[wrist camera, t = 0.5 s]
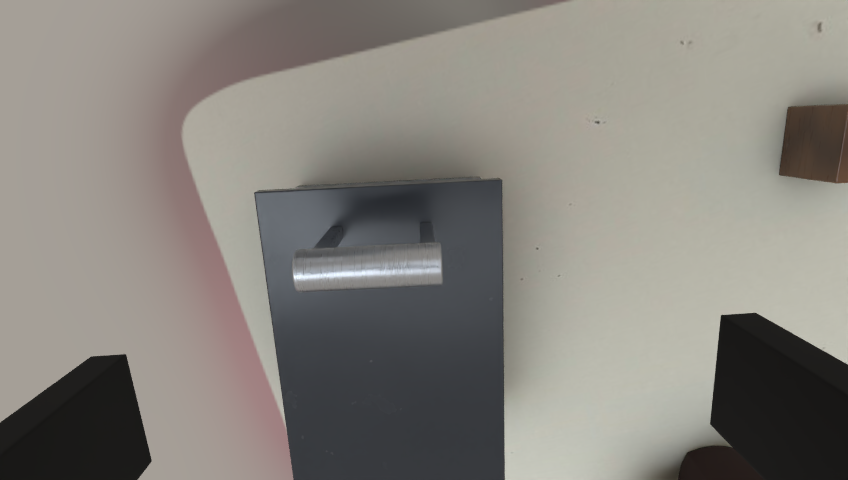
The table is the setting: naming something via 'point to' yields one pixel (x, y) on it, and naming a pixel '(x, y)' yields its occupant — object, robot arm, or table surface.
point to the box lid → (389, 328)
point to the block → (816, 143)
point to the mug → (716, 465)
